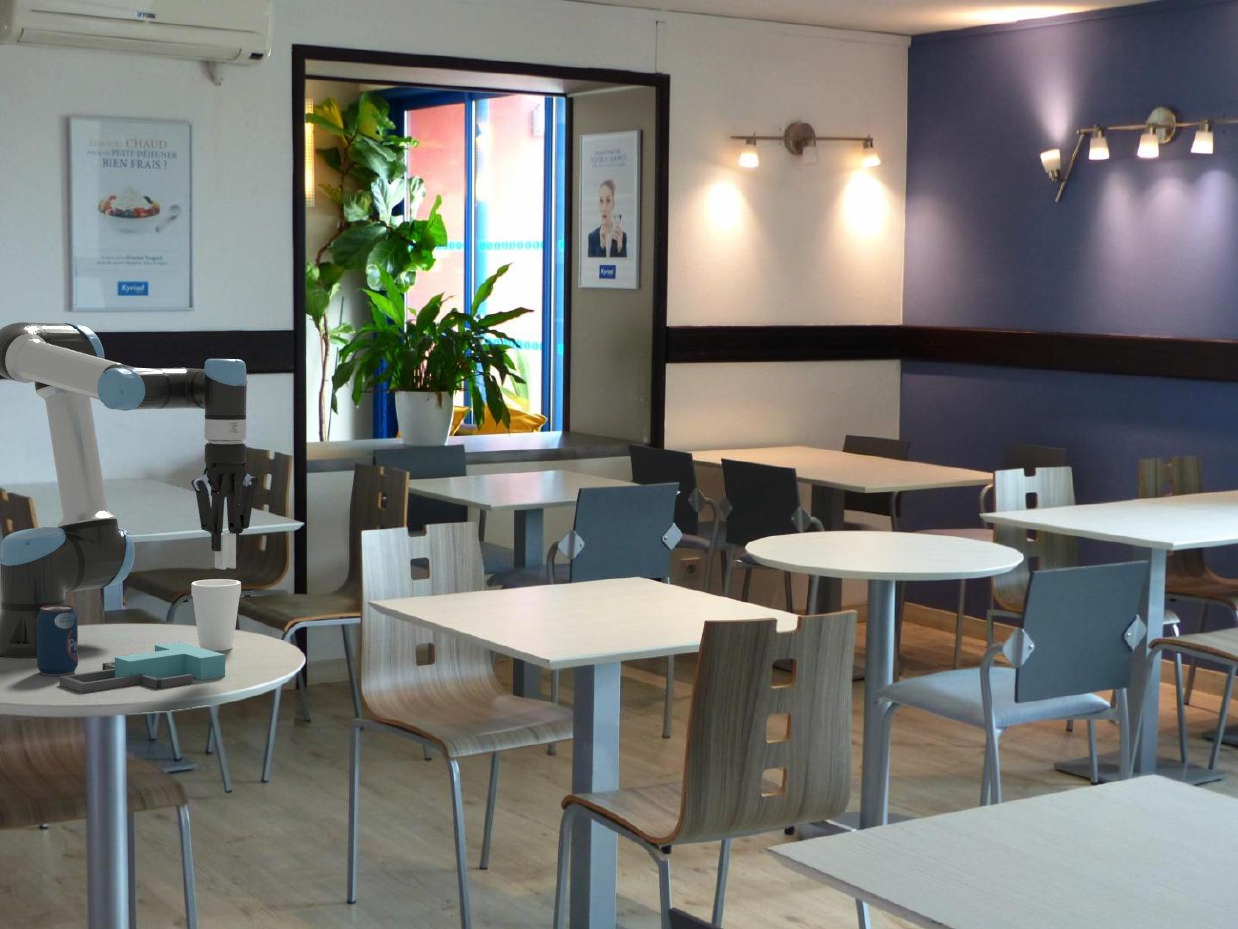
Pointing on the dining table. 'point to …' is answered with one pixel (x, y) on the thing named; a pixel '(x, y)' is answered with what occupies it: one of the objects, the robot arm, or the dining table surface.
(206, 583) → the foam cup
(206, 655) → the t block
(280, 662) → the dining table surface
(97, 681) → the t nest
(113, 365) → the robot arm
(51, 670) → the soda can
